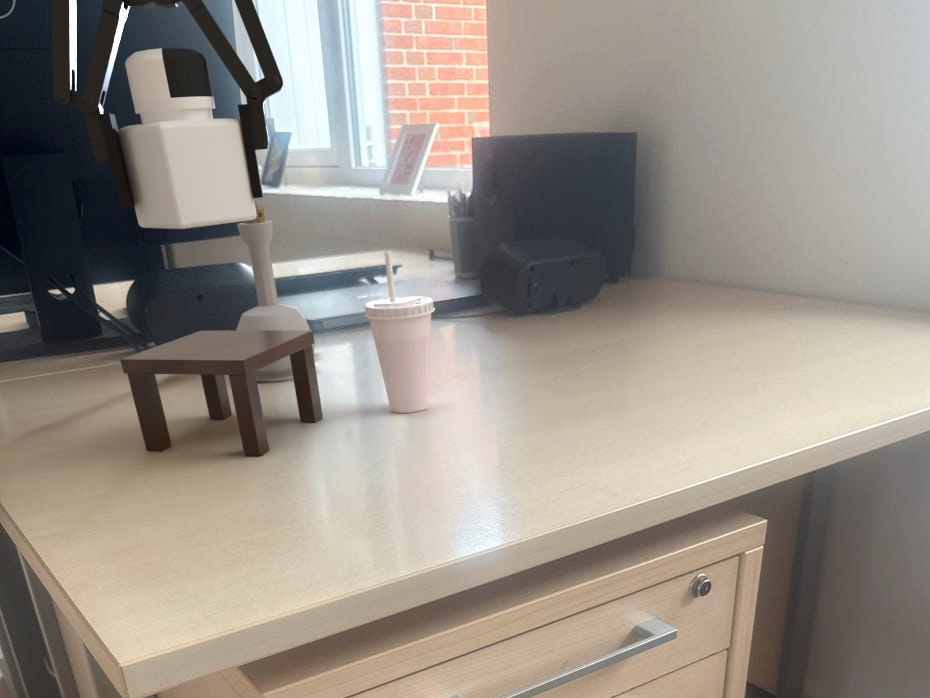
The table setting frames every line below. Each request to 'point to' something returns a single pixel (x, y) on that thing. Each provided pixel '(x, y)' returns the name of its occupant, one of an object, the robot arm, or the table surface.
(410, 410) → the smoothie
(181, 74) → the medicine bottle
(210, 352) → the stand
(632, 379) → the table surface
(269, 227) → the potion bottle
